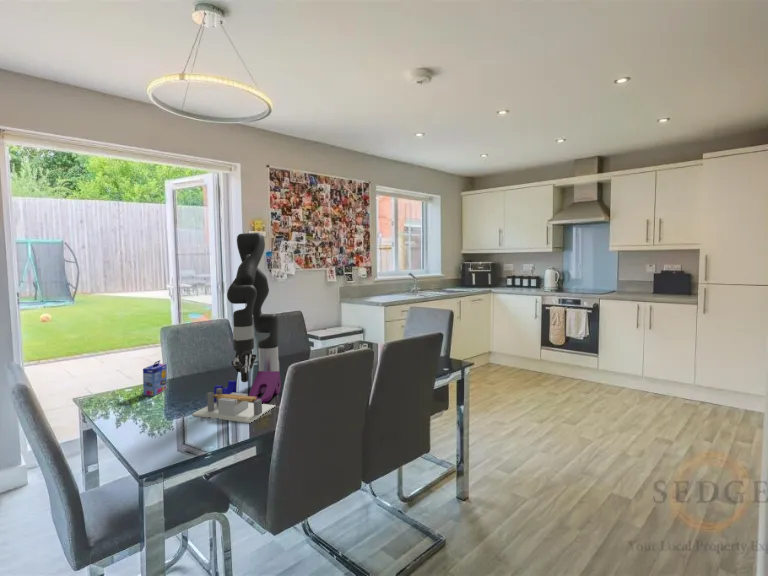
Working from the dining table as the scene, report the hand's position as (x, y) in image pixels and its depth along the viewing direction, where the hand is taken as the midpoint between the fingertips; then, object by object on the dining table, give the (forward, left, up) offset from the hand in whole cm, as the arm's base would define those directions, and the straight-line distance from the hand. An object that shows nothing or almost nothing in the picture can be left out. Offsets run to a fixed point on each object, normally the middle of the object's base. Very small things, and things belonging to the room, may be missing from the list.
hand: (245, 381), depth 163 cm
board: (-1, -6, -13) cm, 14 cm away
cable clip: (-13, -20, -13) cm, 27 cm away
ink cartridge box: (-11, -55, -13) cm, 58 cm away
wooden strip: (0, -5, -7) cm, 9 cm away
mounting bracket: (-20, -4, -13) cm, 24 cm away
